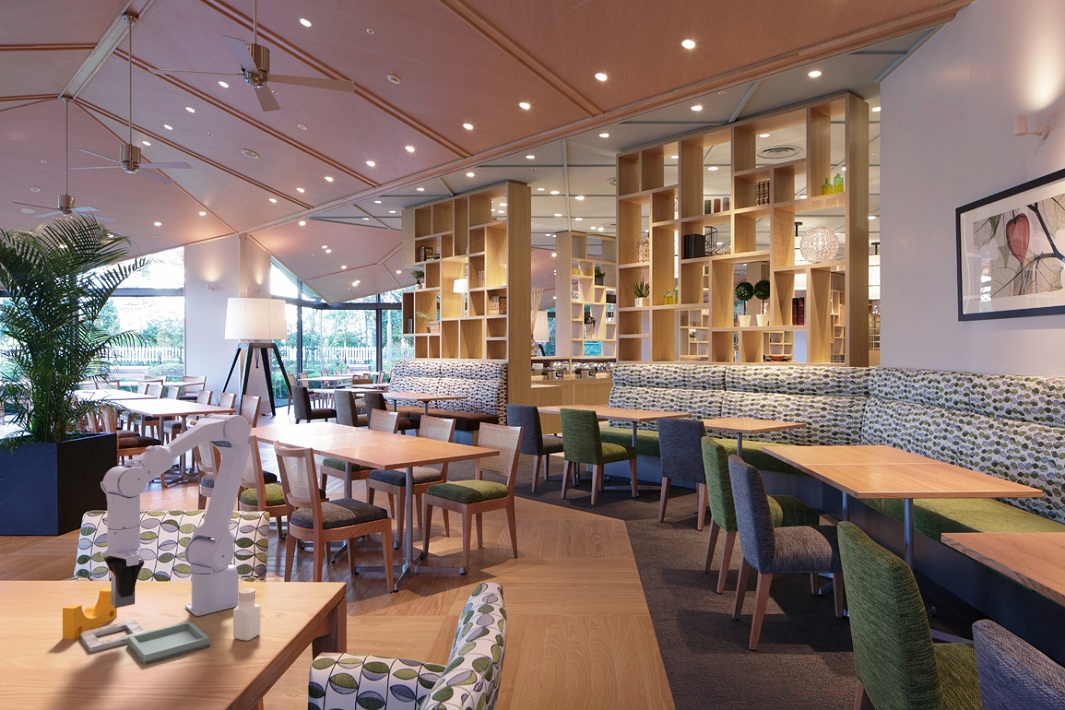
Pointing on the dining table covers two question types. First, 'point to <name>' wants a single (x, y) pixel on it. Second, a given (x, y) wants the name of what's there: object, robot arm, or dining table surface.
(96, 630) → the socket
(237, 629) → the pepper shaker
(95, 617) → the pipe clamp
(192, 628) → the tray
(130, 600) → the pin
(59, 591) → the dining table surface
